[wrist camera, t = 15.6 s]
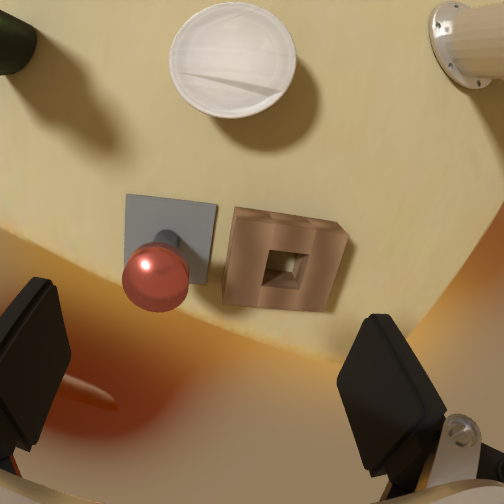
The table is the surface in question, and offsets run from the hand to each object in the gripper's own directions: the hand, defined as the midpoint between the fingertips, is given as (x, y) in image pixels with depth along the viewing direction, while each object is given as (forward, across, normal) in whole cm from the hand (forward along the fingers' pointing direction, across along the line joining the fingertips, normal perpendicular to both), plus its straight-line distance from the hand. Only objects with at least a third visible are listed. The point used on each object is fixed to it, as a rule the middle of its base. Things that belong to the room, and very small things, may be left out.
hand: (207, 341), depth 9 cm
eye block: (+26, -8, +10) cm, 29 cm away
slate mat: (+26, +5, +9) cm, 28 cm away
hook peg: (+26, +5, +9) cm, 28 cm away
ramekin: (+27, +1, -10) cm, 29 cm away
